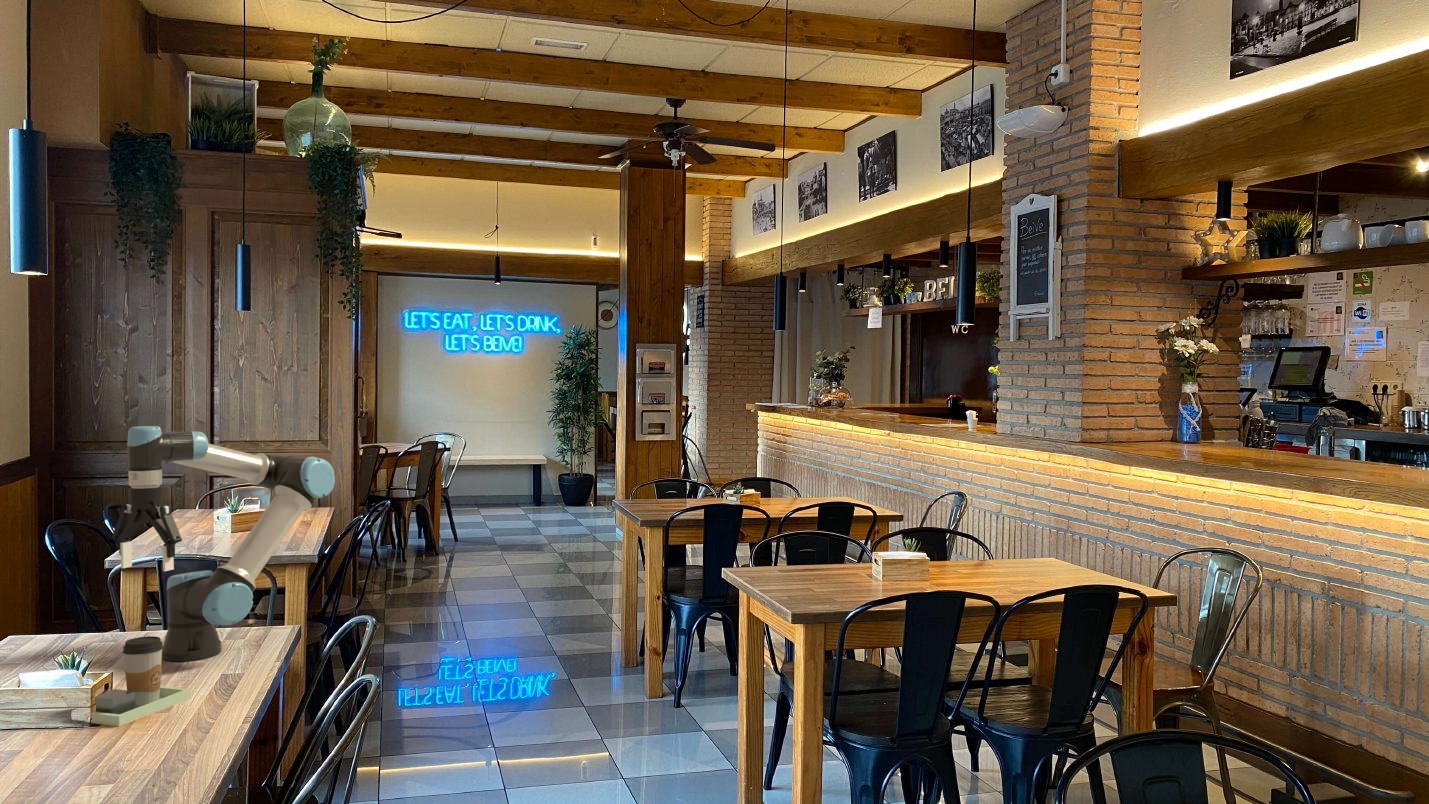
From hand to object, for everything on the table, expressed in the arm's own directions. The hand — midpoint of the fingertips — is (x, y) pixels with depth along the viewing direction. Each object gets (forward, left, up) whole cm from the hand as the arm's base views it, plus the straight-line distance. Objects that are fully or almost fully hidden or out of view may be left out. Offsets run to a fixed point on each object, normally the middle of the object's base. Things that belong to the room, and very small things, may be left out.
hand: (147, 568), depth 260 cm
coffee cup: (+17, +16, -28) cm, 37 cm away
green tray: (+21, +17, -29) cm, 39 cm away
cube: (+26, +17, -28) cm, 42 cm away
